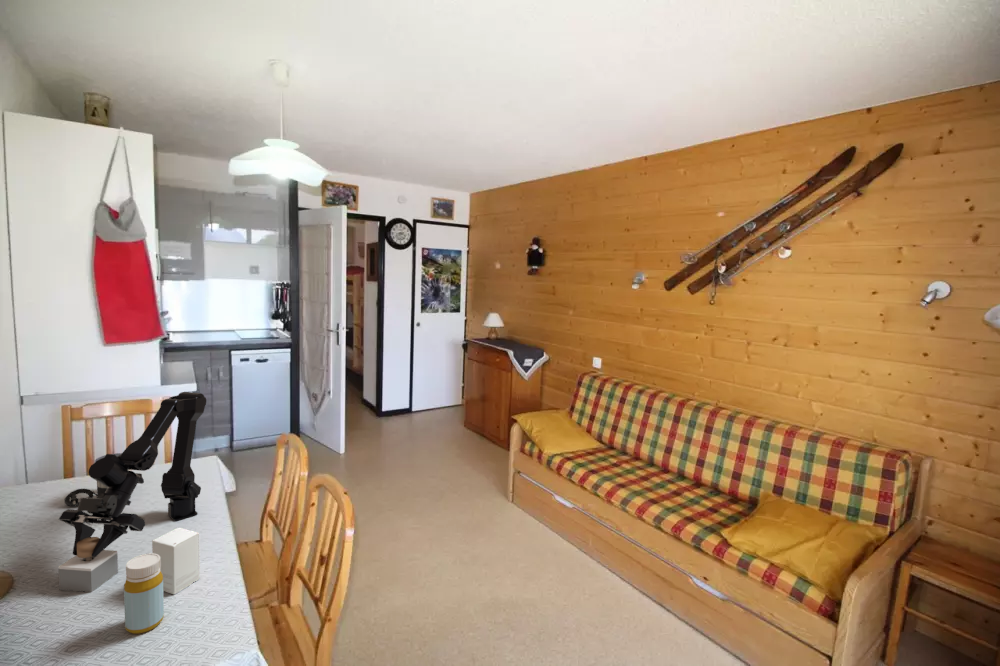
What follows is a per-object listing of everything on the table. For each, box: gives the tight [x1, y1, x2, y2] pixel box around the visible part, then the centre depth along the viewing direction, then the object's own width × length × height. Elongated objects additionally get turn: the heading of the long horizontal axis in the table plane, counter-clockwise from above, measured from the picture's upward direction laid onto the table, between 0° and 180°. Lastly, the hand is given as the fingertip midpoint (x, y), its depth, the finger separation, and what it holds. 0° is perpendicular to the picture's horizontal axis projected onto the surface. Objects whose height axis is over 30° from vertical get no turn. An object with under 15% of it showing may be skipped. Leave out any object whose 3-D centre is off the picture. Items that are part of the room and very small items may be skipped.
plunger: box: [77, 536, 100, 561], centre depth 123 cm, size 4×4×9 cm
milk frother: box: [64, 452, 132, 507], centre depth 163 cm, size 14×16×15 cm
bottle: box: [123, 553, 165, 635], centre depth 110 cm, size 7×7×15 cm
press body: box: [58, 549, 119, 593], centre depth 124 cm, size 8×8×6 cm
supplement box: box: [151, 527, 201, 595], centre depth 124 cm, size 7×7×13 cm
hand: (83, 555), depth 122 cm, fingers closed on plunger, 4 cm apart
